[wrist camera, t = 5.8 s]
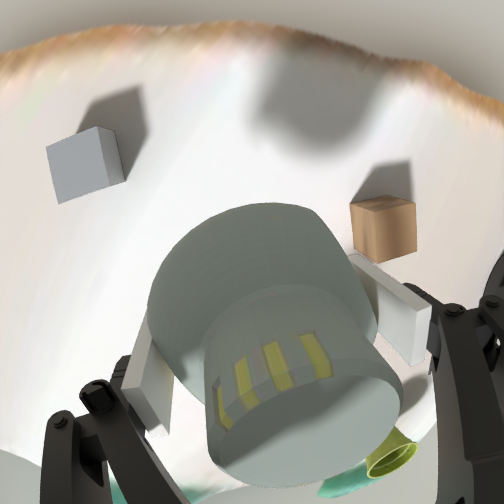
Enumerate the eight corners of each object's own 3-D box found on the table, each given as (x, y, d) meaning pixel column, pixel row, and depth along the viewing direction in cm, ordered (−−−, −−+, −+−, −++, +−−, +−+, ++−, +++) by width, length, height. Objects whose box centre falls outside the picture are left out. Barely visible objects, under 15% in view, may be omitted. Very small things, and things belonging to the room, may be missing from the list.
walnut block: (387, 195, 30) (415, 202, 25) (390, 238, 32) (416, 251, 27) (349, 203, 30) (373, 212, 25) (353, 248, 31) (377, 263, 27)
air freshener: (356, 324, 18) (448, 433, 8) (246, 389, 18) (276, 524, 9) (272, 168, 14) (386, 183, 5) (135, 257, 15) (55, 387, 5)
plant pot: (344, 429, 41) (364, 467, 33) (393, 401, 41) (418, 435, 33) (353, 450, 44) (371, 483, 36) (397, 425, 44) (418, 456, 36)
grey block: (114, 131, 24) (97, 125, 19) (125, 181, 26) (109, 186, 21) (69, 148, 24) (45, 147, 19) (80, 196, 25) (58, 204, 20)
